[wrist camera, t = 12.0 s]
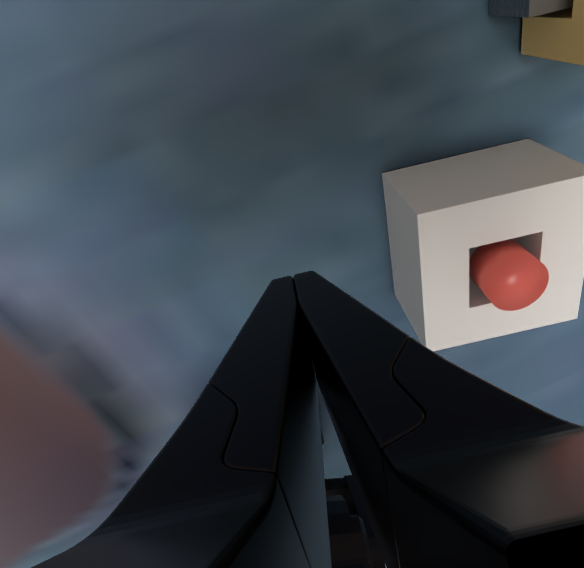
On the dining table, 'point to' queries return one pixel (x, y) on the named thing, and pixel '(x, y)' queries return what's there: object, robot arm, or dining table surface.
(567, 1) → the rail
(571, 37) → the block
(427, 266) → the white button housing
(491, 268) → the button
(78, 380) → the dining table surface
